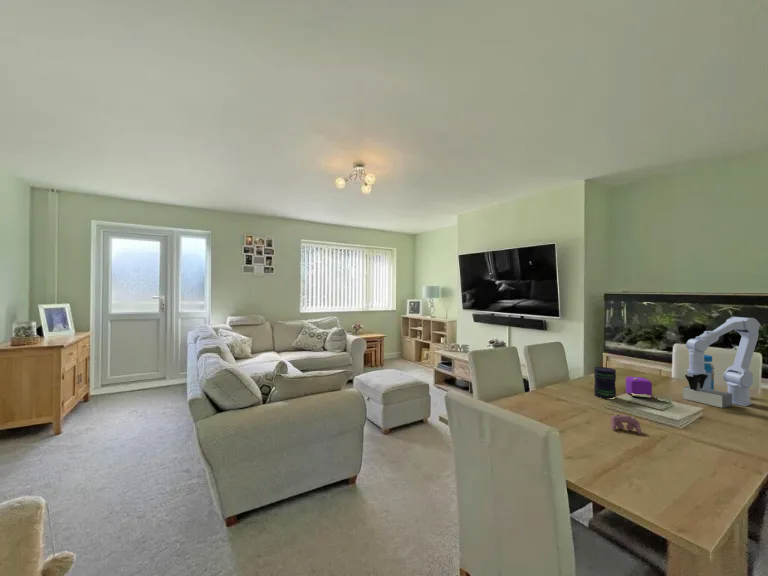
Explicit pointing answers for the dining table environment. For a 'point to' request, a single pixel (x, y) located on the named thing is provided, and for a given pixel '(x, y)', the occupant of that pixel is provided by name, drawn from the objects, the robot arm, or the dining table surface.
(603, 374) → the storage jar
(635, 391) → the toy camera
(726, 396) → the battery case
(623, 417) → the video game controller
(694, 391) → the door
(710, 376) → the beverage bottle
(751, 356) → the robot arm
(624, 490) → the dining table surface
